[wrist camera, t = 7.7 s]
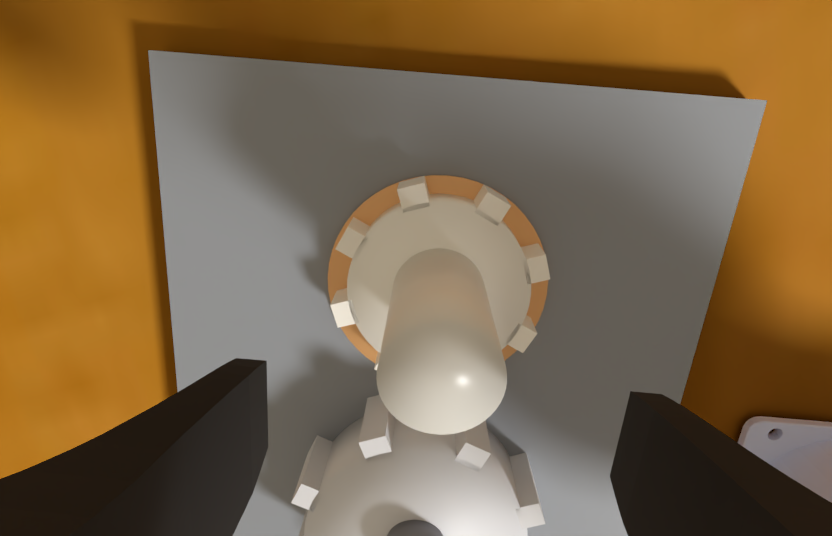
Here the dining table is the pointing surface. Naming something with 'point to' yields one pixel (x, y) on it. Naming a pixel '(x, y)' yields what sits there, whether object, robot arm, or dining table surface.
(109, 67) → the dining table surface
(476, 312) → the planet gear
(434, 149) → the plate
